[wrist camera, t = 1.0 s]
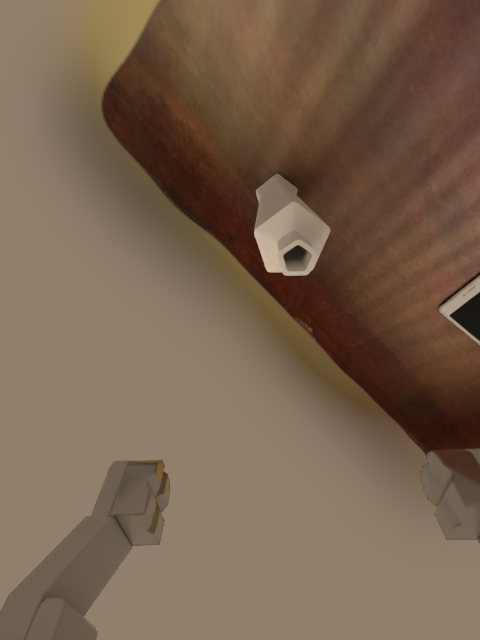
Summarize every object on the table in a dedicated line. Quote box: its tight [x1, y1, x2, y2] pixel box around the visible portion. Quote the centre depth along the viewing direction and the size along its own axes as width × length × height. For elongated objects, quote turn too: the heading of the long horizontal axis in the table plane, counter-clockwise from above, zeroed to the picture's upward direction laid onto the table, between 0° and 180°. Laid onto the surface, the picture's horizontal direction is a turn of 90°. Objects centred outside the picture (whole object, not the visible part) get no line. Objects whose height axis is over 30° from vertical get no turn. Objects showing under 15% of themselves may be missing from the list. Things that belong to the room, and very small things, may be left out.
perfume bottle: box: [254, 174, 330, 276], centre depth 24 cm, size 5×4×15 cm
